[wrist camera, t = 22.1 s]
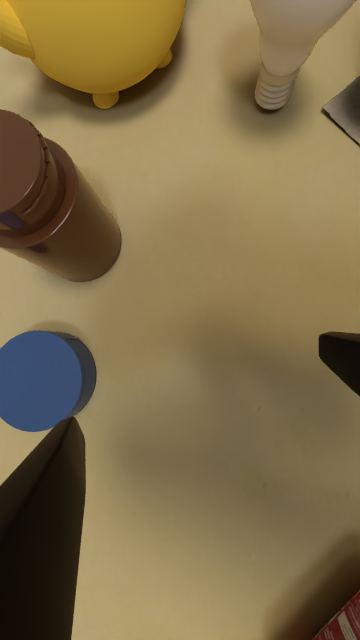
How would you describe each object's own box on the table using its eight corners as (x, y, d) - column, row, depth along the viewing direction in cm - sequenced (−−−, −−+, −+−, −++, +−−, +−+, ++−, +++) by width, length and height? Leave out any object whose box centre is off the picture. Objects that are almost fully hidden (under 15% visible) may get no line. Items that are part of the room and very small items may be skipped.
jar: (134, 259, 19) (76, 187, 10) (63, 295, 20) (-53, 255, 11) (101, 192, 20) (22, 72, 11) (34, 228, 20) (-97, 138, 11)
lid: (46, 314, 20) (26, 311, 17) (114, 363, 19) (101, 366, 16) (-4, 387, 19) (-31, 392, 17) (62, 439, 18) (43, 453, 16)
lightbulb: (218, 126, 20) (239, -141, 9) (245, 58, 20) (297, -279, 9) (295, 148, 19) (422, -115, 8) (322, 77, 19) (478, -267, 8)
